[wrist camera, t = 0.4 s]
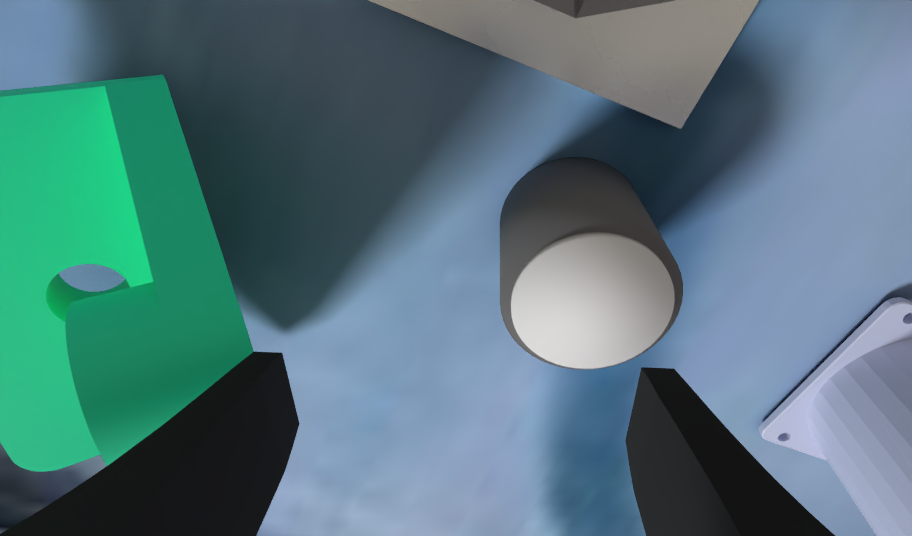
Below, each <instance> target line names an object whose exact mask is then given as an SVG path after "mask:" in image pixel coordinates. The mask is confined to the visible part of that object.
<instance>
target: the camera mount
mask: <svg viewBox="0 0 912 536" xmlns="http://www.w3.org/2000/svg"><path fill="white" fill-rule="evenodd" d="M80 264H98V265H103V266H106V267H109V268H112V269H114V270H115V271H117V272H118V273H120V274H121V275H122V276H123V277H124V278H125V280H124V281H123V282H122V283H121V284H119V285H118V286H116V287H114V288H112V289H109V290H106V291H100V292H88V291H83V290H79V289H76V288H74V287H72V286H70V285H69V284H67V283H66V282H65V281H64V280H63V279H62V278H61V277H60V275H59V274H58V273H59V272H61V271H63V270H65V269H67V268H69V267H72V266H75V265H80ZM253 352H254V351H253V348H252V345H251V342H250V338H249V335H248V332H247V329H246V326H245V322H244V319H243V316H242V313H241V310H240V307H239V304H238V301H237V297H236V294H235V291H234V288H233V285H232V282H231V279H230V276H229V273H228V270H227V267H226V264H225V261H224V257H223V254H222V251H221V248H220V245H219V242H218V239H217V236H216V233H215V230H214V227H213V224H212V220H211V217H210V214H209V211H208V208H207V205H206V202H205V199H204V196H203V193H202V190H201V187H200V184H199V180H198V177H197V174H196V171H195V168H194V165H193V162H192V159H191V156H190V153H189V150H188V147H187V143H186V140H185V137H184V134H183V131H182V128H181V125H180V122H179V119H178V116H177V113H176V110H175V107H174V103H173V100H172V97H171V94H170V91H169V88H168V85H167V82H166V79H165V77H164V75H154V76H144V77H134V78H124V79H113V80H103V81H93V82H83V83H73V84H63V85H53V86H43V87H33V88H23V89H13V90H3V91H0V442H1V444H2V446H3V447H4V449H5V450H6V452H7V453H8V455H9V457H10V458H11V460H12V461H13V462H14V463H15V464H17V465H18V466H20V467H22V468H24V469H27V470H31V471H42V472H43V471H53V470H58V469H61V468H64V467H67V466H70V465H73V464H75V463H78V462H81V461H84V460H86V459H89V458H92V457H95V456H98V455H101V456H102V458H103V460H104V462H105V463H106V465H107V466H108V465H109V464H111V463H112V462H114V461H115V460H116V459H118V458H119V457H120V456H122V455H123V454H124V453H126V452H127V451H128V450H130V449H131V448H132V447H134V446H135V445H136V444H138V443H139V442H140V441H142V440H143V439H144V438H146V437H147V436H149V435H150V434H151V433H153V432H154V431H155V430H157V429H158V428H159V427H161V426H162V425H163V424H165V423H166V422H167V421H168V420H170V419H171V418H172V417H173V416H175V415H176V414H177V413H178V412H180V411H181V410H182V409H183V408H185V407H186V406H187V405H188V404H189V403H191V402H192V401H193V400H194V399H196V398H197V397H198V396H199V395H201V394H202V393H203V392H204V391H206V390H207V389H208V388H209V387H210V386H212V385H213V384H214V383H215V382H217V381H218V380H219V379H220V378H221V377H223V376H224V375H225V374H226V373H227V372H229V371H230V370H231V369H232V368H234V367H235V366H236V365H237V364H238V363H240V362H241V361H242V360H244V359H245V358H246V357H247V356H249V355H250V354H251V353H253Z"/></svg>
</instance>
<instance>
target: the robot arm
mask: <svg viewBox="0 0 912 536" xmlns="http://www.w3.org/2000/svg"><path fill="white" fill-rule="evenodd" d="M908 313H910V314H909V315H908V316H906V317H904V316H905V315H907V314H908ZM298 426H299V421H298V416H297V412H296V408H295V404H294V400H293V396H292V392H291V388H290V383H289V379H288V375H287V371H286V367H285V363H284V359H283V355H282V353H271V352H253V353H251V354H250V355H249V356H247V357H246V358H245V359H244V360H242V361H241V362H240V363H238V364H237V365H236V366H235V367H234V368H232V369H231V370H230V371H229V372H227V373H226V374H225V375H224V376H223V377H221V378H220V379H219V380H218V381H217V382H215V383H214V384H213V385H212V386H210V387H209V388H208V389H207V390H206V391H204V392H203V393H202V394H201V395H199V396H198V397H197V398H196V399H194V400H193V401H192V402H191V403H189V404H188V405H187V406H186V407H185V408H183V409H182V410H181V411H180V412H178V413H177V414H176V415H175V416H173V417H172V418H171V419H170V420H168V421H167V422H166V423H165V424H163V425H162V426H161V427H159V428H158V429H157V430H155V431H154V432H153V433H151V434H150V435H149V436H147V437H146V438H144V439H143V440H142V441H140V442H139V443H138V444H136V445H135V446H134V447H132V448H131V449H130V450H128V451H127V452H126V453H124V454H123V455H122V456H120V457H119V458H118V459H116V460H115V461H114V462H112V463H111V464H109V465H108V466H107V467H105V468H104V469H102V470H101V471H99V472H98V473H97V474H95V475H94V476H92V477H91V478H89V479H88V480H86V481H85V482H83V483H82V484H80V485H79V486H77V487H76V488H74V489H73V490H71V491H70V492H68V493H66V494H65V495H63V496H62V497H60V498H59V499H57V500H56V501H54V502H53V503H51V504H49V505H48V506H46V507H45V508H43V509H42V510H40V511H38V512H37V513H35V514H33V515H32V516H30V517H28V518H27V519H25V520H23V521H22V522H20V523H18V524H16V525H15V526H13V527H11V528H10V529H8V530H6V531H4V532H3V533H1V534H0V536H256V535H257V532H258V530H259V528H260V526H261V524H262V521H263V519H264V517H265V515H266V512H267V510H268V508H269V506H270V504H271V501H272V499H273V497H274V495H275V492H276V490H277V488H278V485H279V483H280V481H281V479H282V476H283V474H284V472H285V469H286V466H287V463H288V460H289V456H290V453H291V450H292V447H293V444H294V440H295V437H296V433H297V430H298ZM759 432H760V434H761V435H762V437H763V439H765V440H767V441H770V442H773V443H776V444H779V445H782V446H785V447H788V448H791V449H794V450H797V451H800V452H803V453H806V454H809V455H812V456H815V457H818V458H821V459H824V460H827V461H828V462H829V464H830V465H831V467H832V468H833V470H834V471H835V473H836V474H837V476H838V477H839V479H840V480H841V482H842V483H843V485H844V486H845V488H846V490H847V491H848V493H849V494H850V496H851V497H852V499H853V500H854V502H855V503H856V505H857V506H858V508H859V509H860V511H861V513H862V514H863V516H864V517H865V519H866V520H867V522H868V523H869V525H870V526H871V528H872V529H873V531H874V532H875V534H876V535H877V536H912V301H910V300H907V299H905V298H900V297H897V298H891V299H889V300H887V301H885V302H884V303H883V304H882V305H881V306H880V307H879V308H878V309H877V310H876V311H875V312H874V313H873V314H872V315H871V316H870V317H868V318H867V319H866V320H865V321H864V322H863V323H862V324H861V325H860V326H859V327H858V328H857V329H856V330H855V331H854V332H853V333H852V334H851V335H850V336H849V337H848V338H847V339H846V340H845V341H844V342H843V343H842V344H841V345H840V346H839V347H838V348H837V349H836V350H835V351H834V352H833V353H832V354H831V355H830V356H829V357H828V358H827V359H826V360H825V361H824V362H823V363H822V364H821V365H820V366H819V367H818V368H817V369H816V370H815V371H814V372H813V373H812V374H811V375H810V376H809V377H808V378H807V379H806V380H805V381H804V382H803V383H802V384H801V385H800V386H799V387H798V388H797V389H796V390H795V391H794V392H793V393H792V394H791V395H790V396H789V397H788V398H787V399H786V400H785V401H784V402H783V403H782V404H781V405H780V406H779V407H778V408H777V409H776V410H775V411H774V412H773V413H772V414H771V415H770V416H769V417H768V418H767V419H766V420H765V421H764V422H763V423H762V424H761V425H760V427H759ZM626 446H627V453H628V459H629V466H630V472H631V477H632V483H633V489H634V493H635V497H636V500H637V504H638V508H639V511H640V515H641V518H642V522H643V525H644V529H645V532H646V536H835V535H834V534H833V533H831V532H830V531H829V530H828V529H827V528H826V527H825V526H824V525H823V524H821V523H820V522H819V521H818V520H817V519H816V518H815V517H814V516H813V515H812V514H810V513H809V512H808V511H807V510H806V509H805V508H804V507H803V506H802V505H801V504H800V503H799V502H798V501H797V500H796V499H795V498H794V497H793V496H792V495H791V494H790V493H789V492H788V491H787V490H785V489H784V488H783V487H782V486H781V485H780V484H779V483H778V482H777V481H776V480H775V479H774V478H773V477H772V476H771V475H770V474H769V473H768V472H767V471H766V470H765V469H764V468H763V467H762V465H761V464H760V463H759V462H758V461H757V460H756V459H755V458H754V457H753V456H752V455H751V454H750V453H749V452H748V451H747V450H746V449H745V447H744V446H743V445H742V444H741V443H740V442H739V441H738V440H737V439H736V438H735V437H734V436H733V435H732V434H731V432H730V431H729V430H728V429H727V428H726V427H725V426H724V425H723V424H722V423H721V421H720V420H719V419H718V418H717V417H716V416H715V415H714V414H713V412H712V411H711V410H710V409H709V408H708V407H707V406H706V404H705V403H704V402H703V401H702V400H701V399H700V398H699V396H698V395H697V394H696V393H695V392H694V391H693V390H692V388H691V387H690V386H689V385H688V384H687V383H686V382H685V381H684V379H683V378H682V377H681V376H680V375H679V374H678V373H677V372H676V371H675V369H667V368H641V373H640V377H639V382H638V386H637V391H636V395H635V400H634V405H633V409H632V414H631V418H630V423H629V427H628V432H627V437H626Z"/></svg>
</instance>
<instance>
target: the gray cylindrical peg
mask: <svg viewBox="0 0 912 536" xmlns="http://www.w3.org/2000/svg"><path fill="white" fill-rule="evenodd" d="M682 296H683V282H682V277H681V273H680V270H679V267H678V265H677V263H676V261H675V259H674V258H673V256H672V254H671V252H670V251H669V249H668V247H667V245H666V244H665V242H664V240H663V239H662V237H661V235H660V233H659V232H658V230H657V228H656V226H655V225H654V223H653V221H652V220H651V218H650V216H649V214H648V213H647V211H646V209H645V208H644V206H643V204H642V202H641V201H640V199H639V197H638V195H637V194H636V192H635V190H634V189H633V187H632V185H631V184H630V182H629V181H628V180H627V179H626V178H625V177H624V176H623V175H622V174H621V173H620V172H619V171H618V170H616V169H615V168H613V167H611V166H610V165H607V164H605V163H603V162H600V161H597V160H594V159H589V158H580V157H571V158H562V159H557V160H553V161H550V162H547V163H545V164H543V165H540V166H538V167H536V168H535V169H533V170H532V171H530V172H528V173H527V174H526V175H525V176H524V177H522V178H521V179H520V180H519V181H518V182H517V183H516V184H515V186H514V187H513V188H512V190H511V191H510V193H509V194H508V196H507V198H506V200H505V203H504V205H503V208H502V212H501V218H500V305H501V313H502V317H503V321H504V323H505V326H506V328H507V330H508V331H509V333H510V335H511V336H512V338H513V339H514V340H515V341H516V342H517V344H518V345H519V346H521V347H522V348H523V349H524V350H525V351H526V352H528V353H529V354H531V355H532V356H534V357H536V358H538V359H539V360H541V361H544V362H546V363H549V364H552V365H555V366H559V367H563V368H569V369H581V370H584V369H599V368H605V367H610V366H614V365H618V364H621V363H624V362H626V361H628V360H631V359H633V358H635V357H637V356H639V355H641V354H642V353H644V352H646V351H647V350H648V349H650V348H651V347H652V346H654V345H655V344H656V343H657V342H658V341H659V340H660V339H661V338H662V337H663V336H664V335H665V334H666V333H667V332H668V330H669V329H670V327H671V326H672V324H673V323H674V321H675V319H676V317H677V315H678V313H679V310H680V306H681V303H682Z"/></svg>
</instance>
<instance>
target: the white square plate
mask: <svg viewBox="0 0 912 536" xmlns="http://www.w3.org/2000/svg"><path fill="white" fill-rule="evenodd" d="M369 1H371V2H374V3H376V4H378V5H381V6H383V7H386V8H388V9H391V10H393V11H395V12H398V13H400V14H403V15H405V16H408V17H410V18H412V19H415V20H417V21H420V22H422V23H425V24H427V25H429V26H432V27H434V28H437V29H439V30H442V31H444V32H446V33H449V34H451V35H454V36H456V37H459V38H461V39H463V40H466V41H468V42H471V43H473V44H476V45H478V46H480V47H483V48H485V49H488V50H490V51H493V52H495V53H497V54H500V55H502V56H505V57H507V58H510V59H512V60H514V61H517V62H519V63H522V64H524V65H527V66H529V67H531V68H534V69H536V70H539V71H541V72H544V73H546V74H548V75H551V76H553V77H556V78H558V79H561V80H563V81H565V82H568V83H570V84H573V85H575V86H578V87H580V88H582V89H585V90H587V91H590V92H592V93H595V94H597V95H599V96H602V97H604V98H607V99H609V100H612V101H614V102H616V103H619V104H621V105H624V106H626V107H629V108H631V109H633V110H636V111H638V112H641V113H643V114H646V115H648V116H650V117H653V118H655V119H658V120H660V121H663V122H665V123H667V124H670V125H672V126H675V127H677V128H680V129H681V128H682V127H683V125H684V123H685V122H686V120H687V118H688V117H689V115H690V113H691V112H692V110H693V109H694V107H695V105H696V104H697V102H698V100H699V99H700V97H701V95H702V94H703V92H704V90H705V89H706V87H707V86H708V84H709V82H710V81H711V79H712V77H713V76H714V74H715V72H716V71H717V69H718V67H719V66H720V64H721V63H722V61H723V59H724V58H725V56H726V54H727V53H728V51H729V49H730V48H731V46H732V45H733V43H734V41H735V40H736V38H737V36H738V35H739V33H740V31H741V30H742V28H743V26H744V25H745V23H746V22H747V20H748V18H749V17H750V15H751V13H752V12H753V10H754V8H755V7H756V5H757V3H758V2H759V0H369Z"/></svg>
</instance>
